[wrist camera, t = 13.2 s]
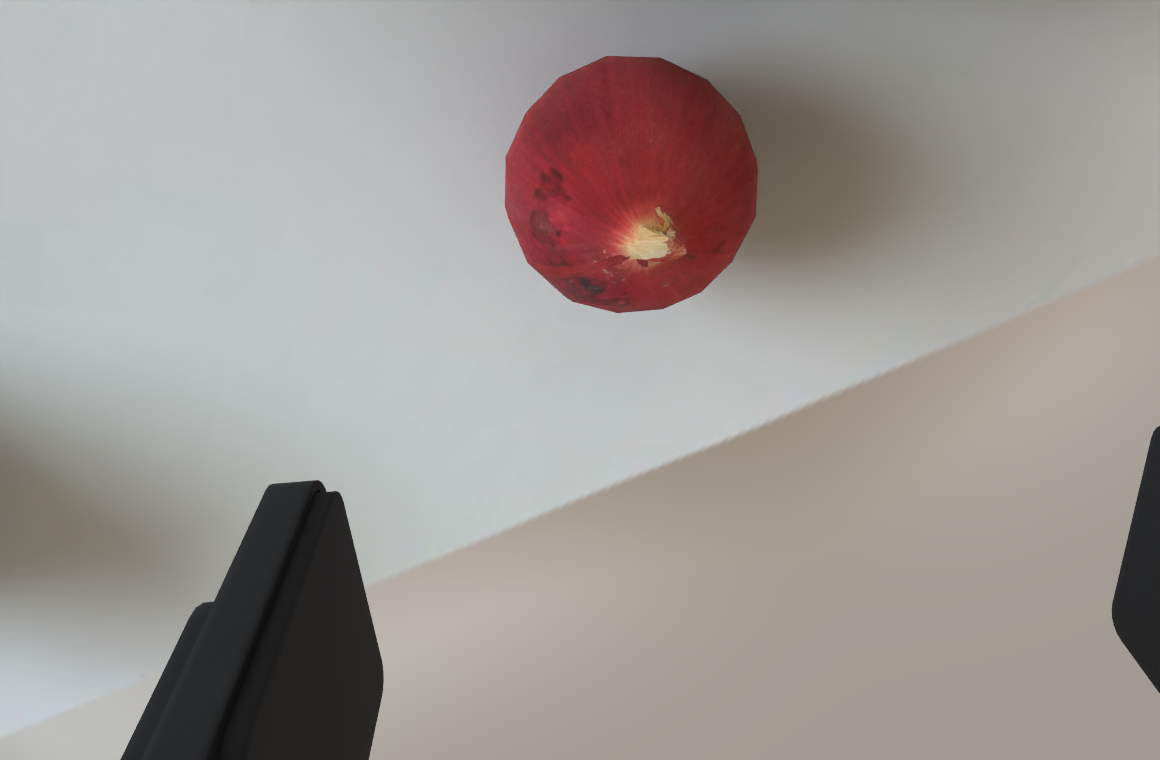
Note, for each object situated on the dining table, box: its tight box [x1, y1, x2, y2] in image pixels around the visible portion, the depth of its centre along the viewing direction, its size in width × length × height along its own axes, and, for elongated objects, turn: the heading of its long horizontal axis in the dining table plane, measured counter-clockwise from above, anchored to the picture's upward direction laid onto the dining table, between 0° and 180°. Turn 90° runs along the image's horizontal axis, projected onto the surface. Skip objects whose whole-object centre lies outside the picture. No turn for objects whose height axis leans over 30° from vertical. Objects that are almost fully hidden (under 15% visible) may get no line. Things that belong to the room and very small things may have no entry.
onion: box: [505, 56, 758, 313], centre depth 22 cm, size 6×6×8 cm
